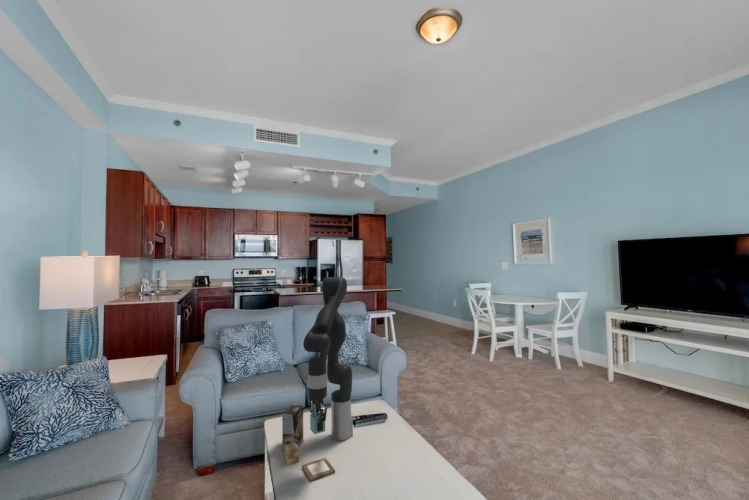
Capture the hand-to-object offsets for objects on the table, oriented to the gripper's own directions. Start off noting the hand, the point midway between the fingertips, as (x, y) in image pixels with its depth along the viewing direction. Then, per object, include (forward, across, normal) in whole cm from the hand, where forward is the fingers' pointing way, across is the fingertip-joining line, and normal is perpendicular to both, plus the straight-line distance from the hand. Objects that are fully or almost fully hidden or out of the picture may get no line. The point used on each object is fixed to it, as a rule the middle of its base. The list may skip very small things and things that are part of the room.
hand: (317, 427), depth 132 cm
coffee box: (+17, +23, +3) cm, 29 cm away
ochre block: (+17, +12, +7) cm, 22 cm away
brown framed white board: (+17, 0, 0) cm, 17 cm away
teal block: (+1, 0, 0) cm, 1 cm away
